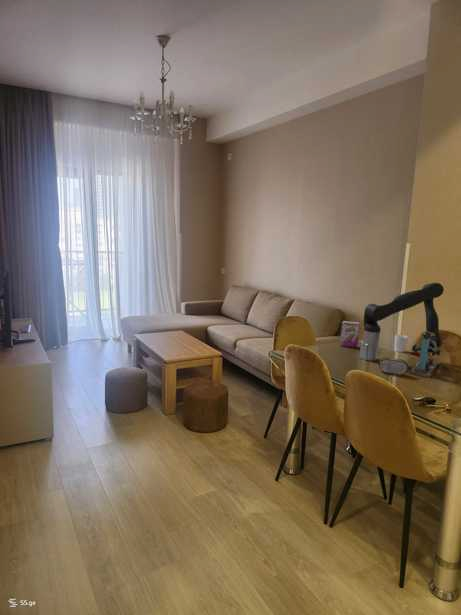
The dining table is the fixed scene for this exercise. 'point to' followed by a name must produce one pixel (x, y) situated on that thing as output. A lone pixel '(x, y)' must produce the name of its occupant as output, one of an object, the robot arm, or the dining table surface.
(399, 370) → the tin
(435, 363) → the press base
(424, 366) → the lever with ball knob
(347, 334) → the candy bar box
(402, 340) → the white cup
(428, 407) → the dining table surface
